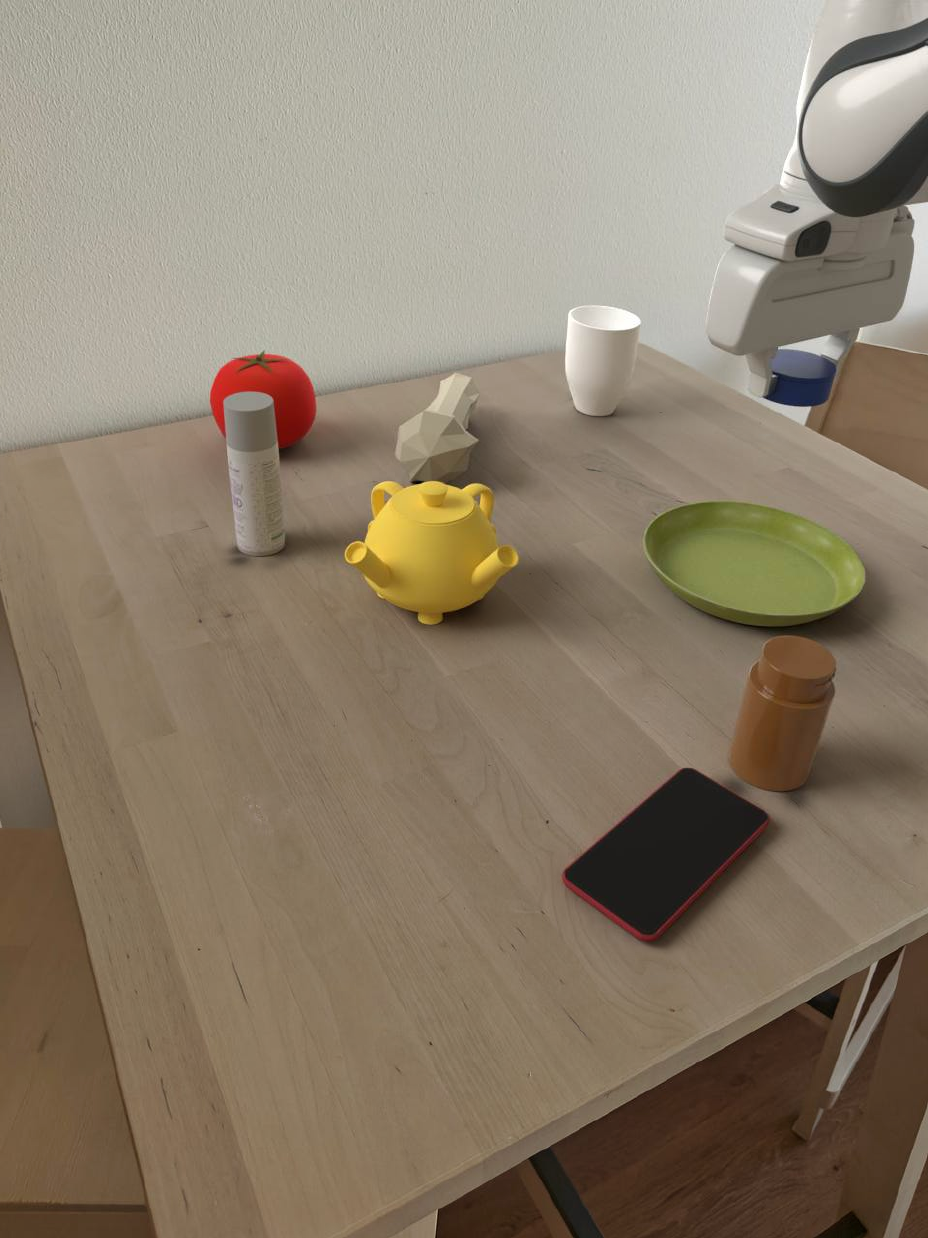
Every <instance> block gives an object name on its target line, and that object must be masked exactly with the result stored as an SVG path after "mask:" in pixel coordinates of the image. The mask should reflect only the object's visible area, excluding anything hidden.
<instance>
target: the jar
mask: <svg viewBox="0 0 928 1238" xmlns="http://www.w3.org/2000/svg"><path fill="white" fill-rule="evenodd" d="M836 667H837V662H836V659H835V657H834V655H833V654H832V652H831V651H830V650H829V649H828V648H826V647H825V646H823V644H821V643H819V642H817V641H815V640H812V639H809V638H806V637H802V636H796V635H781V636H775V637H771V638H769V639H768V640H766V641H765V643H764V644H763V646H762V650H761V653H760V656H759V660H756V662H754V663H753V664H752V665H751V667H750V668H749V671H748V675H747V679H746V682H745V686H744V689H743V693H742V697H741V702H740V706H739V709H738V714H737V718H736V721H735V724H734V729H733V733H732V737H731V741H730V744H729V745H730V746H729V748H728V749H729V750H728V754H727V759H728V764H729V765H730V767H731V769H732V771H733V772H734V773H735V774H736V775H737V776H738V777H739V778H741V780H742V781H744V782H746V783H748V784H749V785H752V786H754V787H756V788H758V789H761V790H765V791H770V792H788V791H793V790H796V789H798V788H800V787H801V786H802V785H804V784H805V783H806V782H807V780H808V779H809V776H810V773H811V770H812V766H813V763H814V761H815V757H816V754H817V751H818V749H819V745H820V742H821V740H822V735H823V733H824V729H825V727H826V723H827V720H828V718H829V714H830V712H831V708H832V705H833V702H834V698H835V695H836V687H835V683H834V681H833V680H834V679H835V677H836V672H837V668H836Z"/></svg>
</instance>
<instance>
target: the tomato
mask: <svg viewBox="0 0 928 1238" xmlns="http://www.w3.org/2000/svg"><path fill="white" fill-rule="evenodd" d="M265 351H266V350H265V349H264V350H262V352H261V353H258V354H257V353H256V354H250V355H249V354H248V355H245V356H240V357H233V359H230V361H228V362H227V363H225V364H224V365H223V366H222V367H221V368H219V370H218V371H217V373H216V375H215V377H214V380H213V383H212V385H211V388H210V393H209V404H210V408H211V412H212V415H213V418H214V421H215V423H216V426H217V427H218V429H219V430H220V433H221V434H222V436H223V437H224V438H225V439H226V430H225V417H224V404H223V401H224V399H225V398H226V397H228V396H230V395H232V394H235V393H240V392H261V393H265V394H267V395H269V396H271V397H272V398H273V402H274V412H275V422H276V431H277V441H278V450H280V449H281V450H282V449H284V448H288V447H290V446H292V445H294V444H296V443H298V442H299V441H301V440H302V439H303V438H304V437H305V436H306V435H307V434H308V433H309V432H310V430H311V428H312V427H313V424H314V422H315V420H316V416H317V400H316V399H317V398H316V394H315V388H314V385H313V383H312V381H311V379H310V377H309V375H308V374H307V373H306V371H305V370H304V369H303V368H302V366H300V365H299V364H297V363H296V362H295V361H293V360H292V359H290V358H288V357H286V356H283V355H278V354H272V353H266V352H265Z"/></svg>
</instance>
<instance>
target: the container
mask: <svg viewBox="0 0 928 1238" xmlns="http://www.w3.org/2000/svg"><path fill="white" fill-rule="evenodd" d="M223 404H224V417H225V430H226V438H225V442H226V455H227V464H228V474H229V482H230V491H231V500H232V501H231V502H232V511H233V519H234V528H235V539H236V545H237V549H238V550H239V551H240V552H241V553H243V554H244V555H247V556H251V557H267V556H271V555H274V554H277V553H280V551H282V550H283V549H284V548H285V545H286V532H285V521H284V519H285V518H284V507H283V494H282V492H283V491H282V477H281V466H280V464H281V463H280V452H279V450H280V449H278V441H277V431H276V422H275V412H274V402H273V398H272V397H271V396H269V395H267V394H265V393H261V392H240V393H235V394H232V395H230V396H228V397H226V398H225V399H224V401H223Z"/></svg>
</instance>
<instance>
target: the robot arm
mask: <svg viewBox="0 0 928 1238" xmlns="http://www.w3.org/2000/svg"><path fill="white" fill-rule="evenodd" d="M806 56H807V57H806V60H805V65H804V69H803V74H802V77H801V83H800V87H799V92H798V95H797V96H798V97H797V102H796V132H795V137H794V140H793V144H792V146H791V148H790V150H789V152H788V154H787V157H786V159H785V162H784V165H783V169H782V174H781V178H780V182H779V183H776V184H774V185H772V186H771V187H770V188H768V189H767V190H766V191H764V192H763V193H762V194H760V195H758V196H757V197H756V198H754V199H752V200H751V201H749V202H747V203H745V204H743V205H742V206H740V207H738V208H736V209H735V210H733V211H731V213H729V214H728V216H727V217H726V220H725V223H724V227H723V228H724V229H723V238H724V240H725V241H727V242H729V243H731V244H732V245H731V246H730V247H728V248H727V249H726V250H725V252H724V253H723V254H722V256H721V258H720V260H719V262H718V264H717V266H716V270H715V274H714V279H713V282H712V286H711V291H710V292H711V293H710V296H709V302H708V307H707V312H706V313H707V314H706V319H705V333H706V336H707V339H708V340H709V342H710V344H711V345H712V346H714V347H715V348H717V349H720V350H722V351H724V352H727V353H729V354H731V355H734V356H738V357H742V356H745V359H746V362H747V366H748V368H749V372H750V375H749V378H748V379H749V380H748V383H747V384H748V385H747V391H748V392H749V393H750V394H752V395H753V396H755V397H757V398H762V397H764V396H768V395H771V394H774V393H775V392H776V385H777V383H778V379H779V375H777V374H774V373H772V367H771V361H770V359H774V358H775V357H776V355H777V350H778V349H779V348H780V347H785V346H789V345H793V344H797V343H802V342H806V341H810V340H815V339H819V338H822V337H823V338H824V337H827V336H829V337H828V338H827V341H826V342H825V345H824V347H823V348H822V351H821V352H820V354H818V355H819V356H822V357H824V358H826V359H828V360H829V361H831V362H832V363H833V364H834V365H835V366H836V374H835V378H837V377H838V375H839V371H840V368H841V366H842V365H841V363H842V361H843V360H844V359H845V357H846V356H847V354H848V353H849V351H851V349H852V347H853V346H854V344H855V343H856V341H857V339H858V337H859V333H860V329H861V328H865V327H869V326H875V325H878V324H883V323H886V322H891V321H894V319H895V318H896V317H897V316H898V314H899V313H900V311H901V309H902V308H903V306H904V303H905V299H906V295H907V291H908V286H909V282H910V277H911V272H912V267H913V261H914V254H915V241H914V240H915V239H914V237H913V232H914V228H915V219H914V218H913V214H912V212H911V211H910V210H909V207H908V206H912V205H919V204H924V203H925V204H926V203H928V0H826V1H825V3H824V6H823V8H822V9H821V12H820V15H819V18H818V20H817V23H816V25H815V29H814V33H813V35H812V37H811V42H810V45H809V49H808V53H807V55H806Z"/></svg>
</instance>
